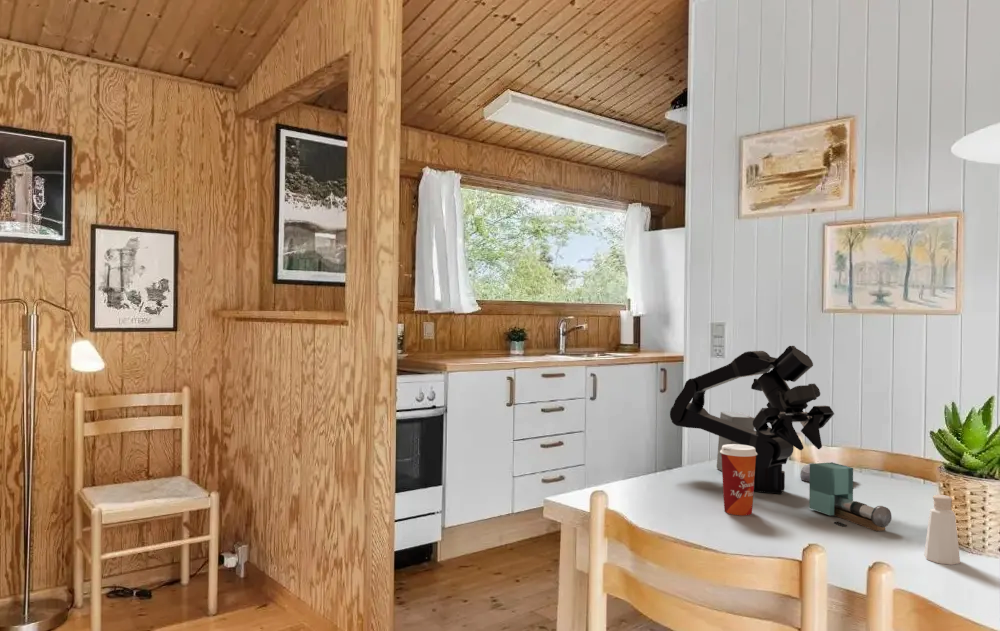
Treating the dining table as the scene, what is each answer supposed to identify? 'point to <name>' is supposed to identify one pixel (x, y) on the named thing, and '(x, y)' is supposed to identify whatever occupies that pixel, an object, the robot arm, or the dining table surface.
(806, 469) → the stone block
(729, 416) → the skincare box
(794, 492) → the dining table surface
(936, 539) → the pepper shaker
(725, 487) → the paper cup
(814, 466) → the teal notched block
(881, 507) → the pipe rig
